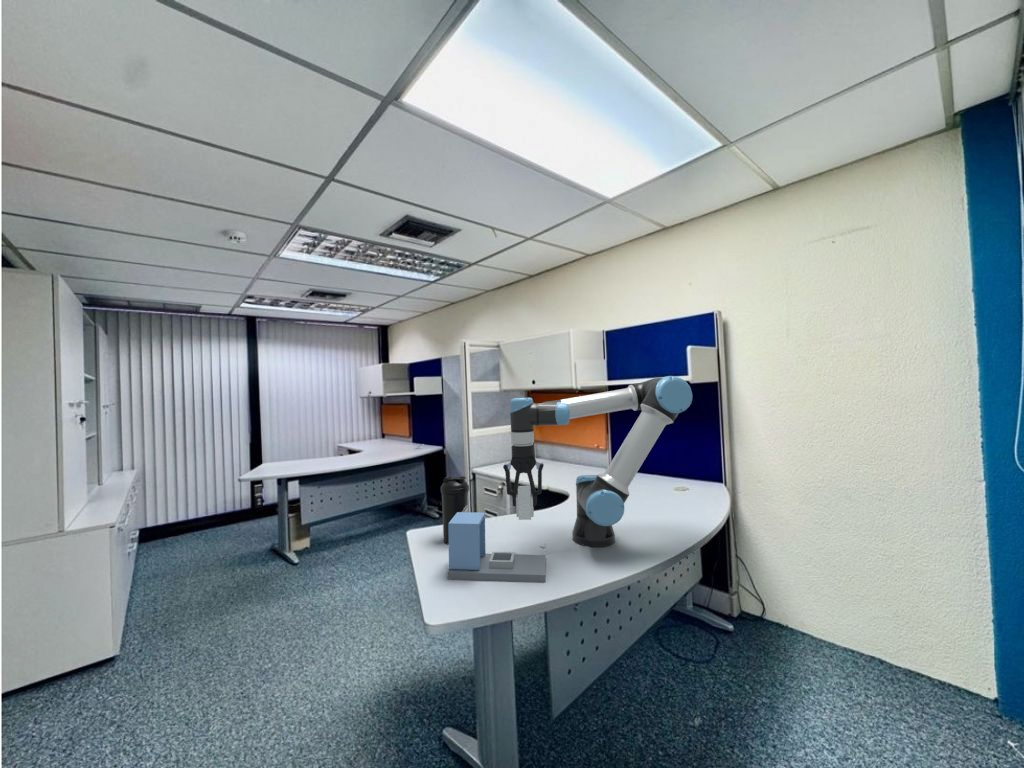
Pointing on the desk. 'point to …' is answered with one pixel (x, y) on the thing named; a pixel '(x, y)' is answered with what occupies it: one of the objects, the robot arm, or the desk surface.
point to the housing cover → (466, 540)
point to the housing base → (505, 568)
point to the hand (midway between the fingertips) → (525, 515)
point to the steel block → (524, 502)
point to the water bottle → (453, 500)
